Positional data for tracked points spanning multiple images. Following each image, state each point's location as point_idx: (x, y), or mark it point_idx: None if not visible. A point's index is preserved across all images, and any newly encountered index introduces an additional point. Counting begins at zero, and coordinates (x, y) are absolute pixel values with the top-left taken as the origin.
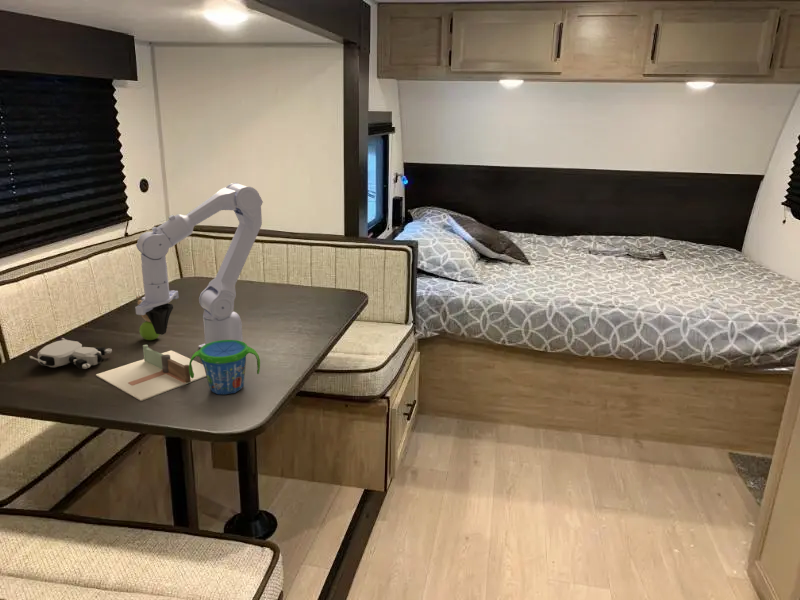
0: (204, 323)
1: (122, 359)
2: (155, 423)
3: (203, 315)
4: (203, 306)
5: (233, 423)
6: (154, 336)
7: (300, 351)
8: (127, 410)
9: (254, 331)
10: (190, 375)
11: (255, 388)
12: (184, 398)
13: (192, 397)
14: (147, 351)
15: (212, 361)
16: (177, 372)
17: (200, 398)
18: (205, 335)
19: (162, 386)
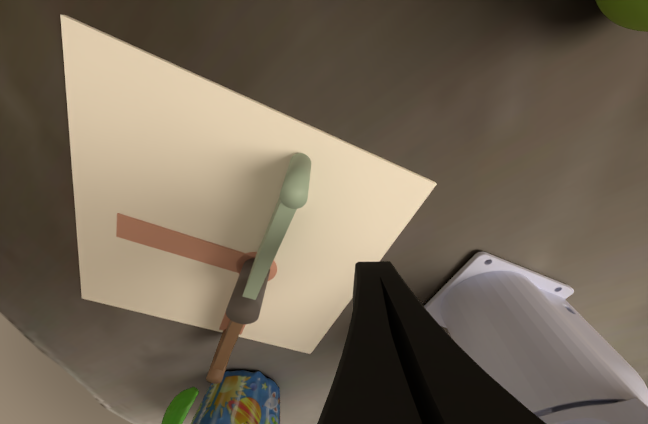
0: (515, 385)
1: (292, 2)
2: (53, 355)
3: (566, 422)
4: None
5: (151, 419)
6: (606, 15)
7: None
8: (30, 294)
9: (621, 321)
10: (169, 405)
11: None
12: (165, 351)
13: (178, 359)
14: (277, 208)
15: None
16: (229, 323)
17: (185, 369)
18: (481, 328)
19: (172, 301)
